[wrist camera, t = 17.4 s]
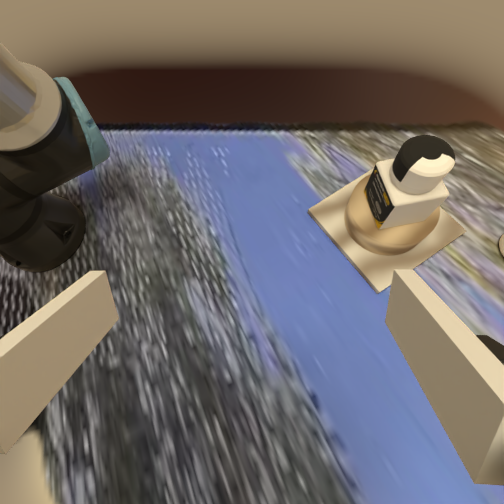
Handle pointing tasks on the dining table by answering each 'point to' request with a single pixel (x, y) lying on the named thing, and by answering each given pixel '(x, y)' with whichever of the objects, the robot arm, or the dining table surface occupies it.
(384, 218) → the medicine bottle
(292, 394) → the dining table surface
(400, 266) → the post stand
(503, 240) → the water bottle
